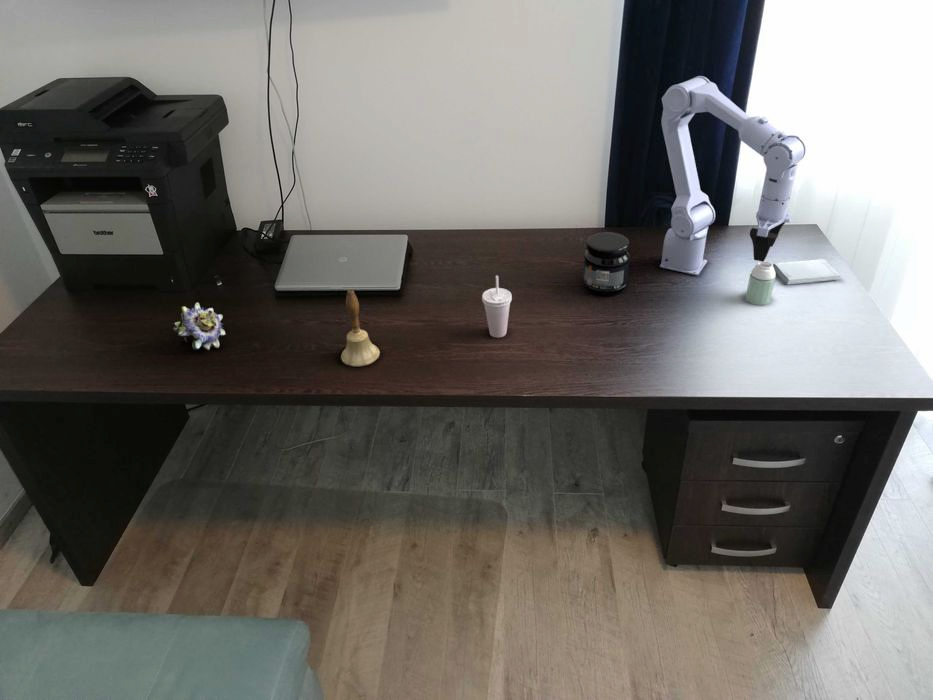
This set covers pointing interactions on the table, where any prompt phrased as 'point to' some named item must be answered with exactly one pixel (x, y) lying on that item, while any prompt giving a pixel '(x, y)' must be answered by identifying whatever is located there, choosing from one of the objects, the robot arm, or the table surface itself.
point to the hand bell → (357, 338)
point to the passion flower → (200, 327)
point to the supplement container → (606, 263)
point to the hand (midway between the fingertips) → (763, 252)
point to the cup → (759, 290)
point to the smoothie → (497, 309)
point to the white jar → (763, 271)
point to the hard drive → (805, 271)
